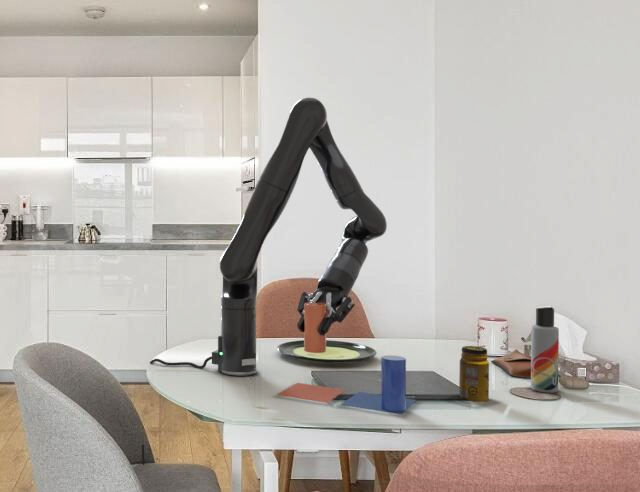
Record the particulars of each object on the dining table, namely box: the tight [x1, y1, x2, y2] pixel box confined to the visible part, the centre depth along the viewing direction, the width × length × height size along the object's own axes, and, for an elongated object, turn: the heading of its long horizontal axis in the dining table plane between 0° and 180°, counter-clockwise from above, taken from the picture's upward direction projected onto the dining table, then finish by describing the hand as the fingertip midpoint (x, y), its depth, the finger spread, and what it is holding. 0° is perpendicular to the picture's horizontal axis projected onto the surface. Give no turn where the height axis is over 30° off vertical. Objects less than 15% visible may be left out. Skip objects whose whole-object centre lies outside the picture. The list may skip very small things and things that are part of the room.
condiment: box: [458, 345, 490, 403], centre depth 161 cm, size 7×8×12 cm
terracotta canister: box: [303, 302, 327, 353], centre depth 167 cm, size 5×5×11 cm
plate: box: [276, 339, 378, 363], centre depth 208 cm, size 28×28×2 cm
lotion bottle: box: [530, 306, 560, 394], centre depth 171 cm, size 6×6×20 cm
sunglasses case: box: [490, 349, 531, 379], centre depth 191 cm, size 18×7×7 cm
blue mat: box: [340, 391, 417, 415], centre depth 158 cm, size 13×13×1 cm
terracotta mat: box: [276, 382, 346, 404], centre depth 167 cm, size 12×13×1 cm
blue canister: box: [380, 354, 407, 413], centre depth 153 cm, size 5×5×11 cm
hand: (310, 331), depth 165 cm, fingers closed on terracotta canister, 5 cm apart
